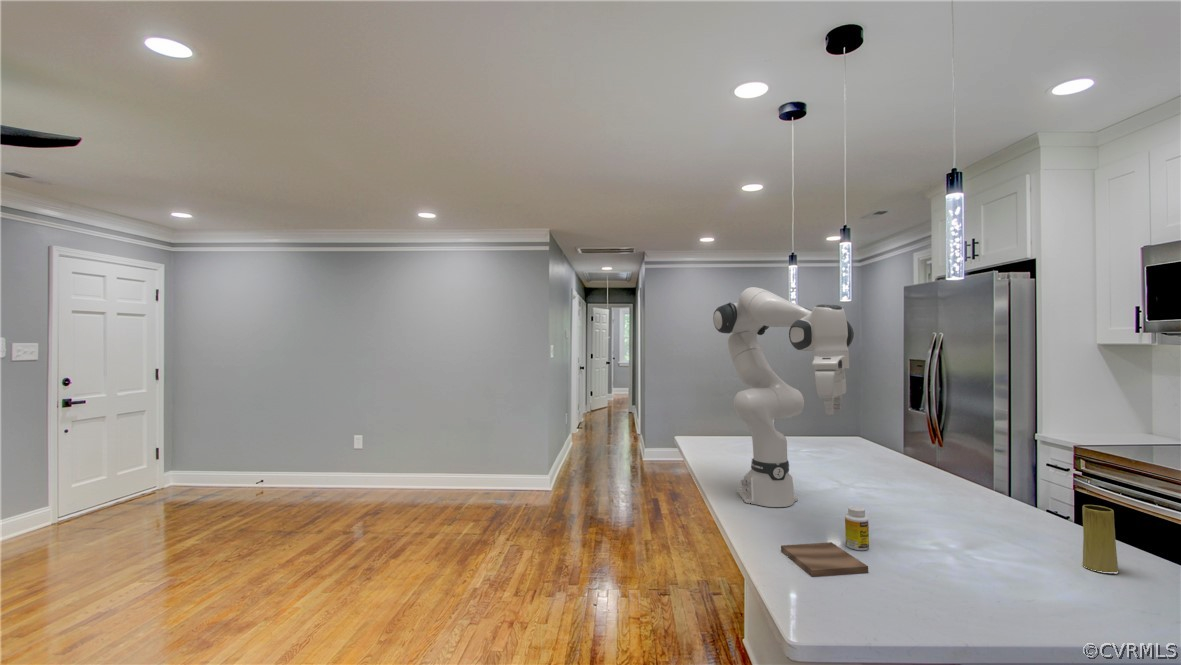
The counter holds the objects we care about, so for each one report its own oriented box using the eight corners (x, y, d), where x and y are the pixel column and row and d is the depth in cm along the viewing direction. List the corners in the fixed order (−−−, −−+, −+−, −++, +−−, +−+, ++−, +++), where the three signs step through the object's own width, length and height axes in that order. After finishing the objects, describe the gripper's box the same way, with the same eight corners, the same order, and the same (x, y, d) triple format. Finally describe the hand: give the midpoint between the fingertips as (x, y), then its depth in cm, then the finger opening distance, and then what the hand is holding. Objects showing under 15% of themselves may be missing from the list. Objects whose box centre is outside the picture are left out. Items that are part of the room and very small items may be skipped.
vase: (1076, 566, 123) (1074, 506, 123) (1090, 561, 125) (1088, 502, 126) (1110, 577, 117) (1108, 513, 118) (1124, 572, 120) (1121, 509, 120)
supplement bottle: (862, 553, 133) (860, 513, 133) (841, 546, 137) (840, 507, 138) (873, 548, 136) (872, 508, 136) (853, 541, 140) (851, 503, 141)
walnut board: (781, 551, 135) (781, 545, 135) (831, 547, 136) (831, 542, 136) (812, 576, 120) (812, 570, 120) (868, 572, 121) (868, 566, 121)
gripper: (827, 361, 153) (829, 408, 152) (810, 363, 136) (812, 416, 136) (850, 361, 149) (853, 409, 149) (836, 363, 133) (838, 417, 132)
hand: (833, 412), depth 142 cm, fingers open, 8 cm apart
